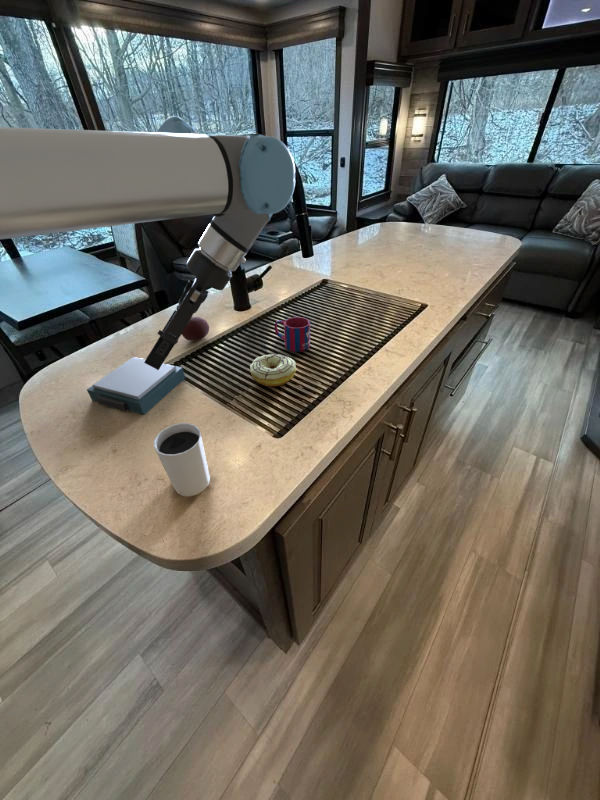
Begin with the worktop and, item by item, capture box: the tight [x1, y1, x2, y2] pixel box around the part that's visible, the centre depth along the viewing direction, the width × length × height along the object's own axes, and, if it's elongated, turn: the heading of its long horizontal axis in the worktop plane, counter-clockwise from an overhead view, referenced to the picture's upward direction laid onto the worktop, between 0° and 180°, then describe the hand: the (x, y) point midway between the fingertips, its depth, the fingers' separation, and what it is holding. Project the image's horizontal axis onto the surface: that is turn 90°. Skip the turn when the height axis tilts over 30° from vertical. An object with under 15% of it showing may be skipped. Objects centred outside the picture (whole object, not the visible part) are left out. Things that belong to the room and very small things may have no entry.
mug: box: [274, 316, 311, 353], centre depth 88 cm, size 7×10×7 cm
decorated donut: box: [249, 353, 297, 387], centre depth 77 cm, size 10×11×4 cm
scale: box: [86, 356, 186, 416], centre depth 73 cm, size 15×14×4 cm
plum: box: [181, 316, 210, 342], centre depth 91 cm, size 7×8×6 cm
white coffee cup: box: [153, 422, 211, 497], centre depth 51 cm, size 7×7×10 cm
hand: (159, 350), depth 66 cm, fingers open, 13 cm apart
